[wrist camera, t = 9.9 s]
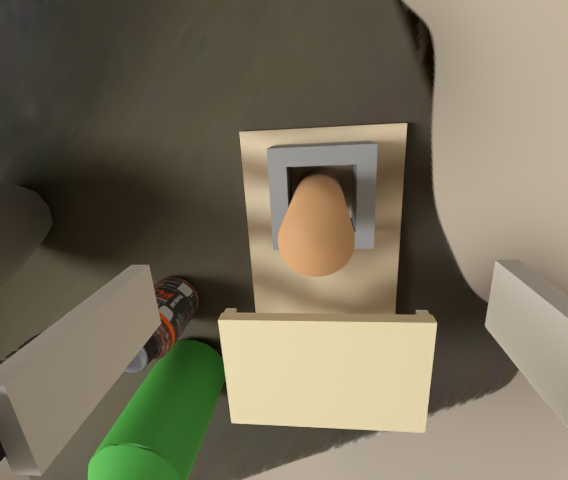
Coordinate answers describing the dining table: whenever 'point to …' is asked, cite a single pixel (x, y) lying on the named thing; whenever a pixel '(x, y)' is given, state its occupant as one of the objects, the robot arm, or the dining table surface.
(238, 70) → the dining table surface
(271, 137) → the board
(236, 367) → the cream shelf stand
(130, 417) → the bottle
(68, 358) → the robot arm
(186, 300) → the supplement bottle
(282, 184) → the socket
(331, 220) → the peg
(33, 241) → the vase
